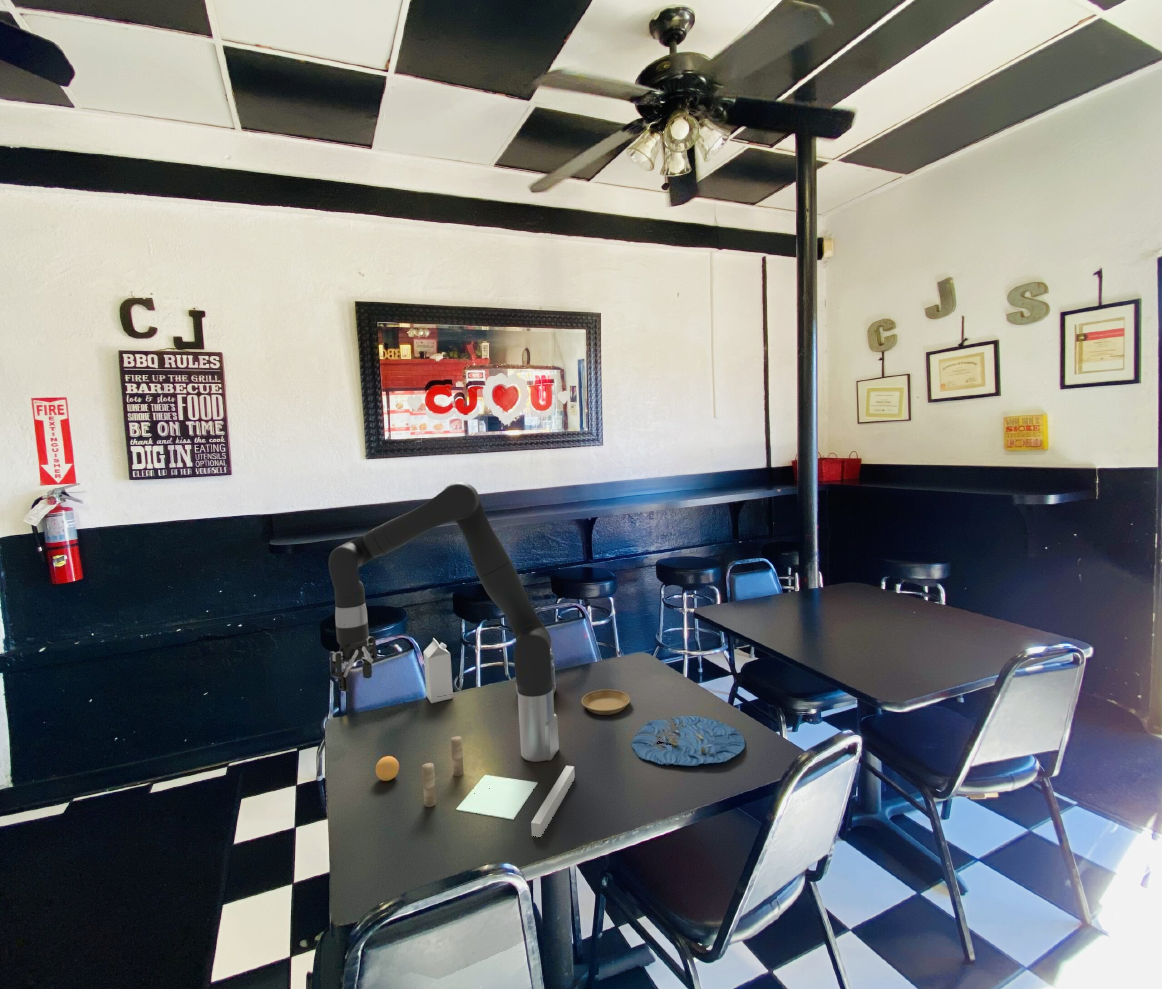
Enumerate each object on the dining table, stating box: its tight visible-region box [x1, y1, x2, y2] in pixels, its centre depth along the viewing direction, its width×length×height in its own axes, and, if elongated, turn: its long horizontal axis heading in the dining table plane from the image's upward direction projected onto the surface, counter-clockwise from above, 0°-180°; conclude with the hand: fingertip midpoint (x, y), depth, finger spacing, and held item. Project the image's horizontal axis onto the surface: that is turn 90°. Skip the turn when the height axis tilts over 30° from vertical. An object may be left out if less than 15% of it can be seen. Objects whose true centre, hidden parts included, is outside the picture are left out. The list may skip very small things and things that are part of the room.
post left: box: [421, 762, 437, 808], centre depth 133 cm, size 3×3×9 cm
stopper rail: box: [530, 765, 576, 838], centre depth 131 cm, size 2×22×3 cm, turn 162°
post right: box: [450, 735, 465, 777], centre depth 145 cm, size 3×3×9 cm
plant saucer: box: [581, 689, 631, 716], centre depth 179 cm, size 15×15×3 cm
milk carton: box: [423, 637, 454, 704], centre depth 190 cm, size 7×7×19 cm
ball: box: [375, 755, 400, 782], centre depth 144 cm, size 6×6×6 cm
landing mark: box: [455, 774, 539, 821], centre depth 135 cm, size 14×14×1 cm
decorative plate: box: [631, 715, 746, 767], centre depth 155 cm, size 30×30×5 cm
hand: (356, 684), depth 149 cm, fingers open, 8 cm apart
